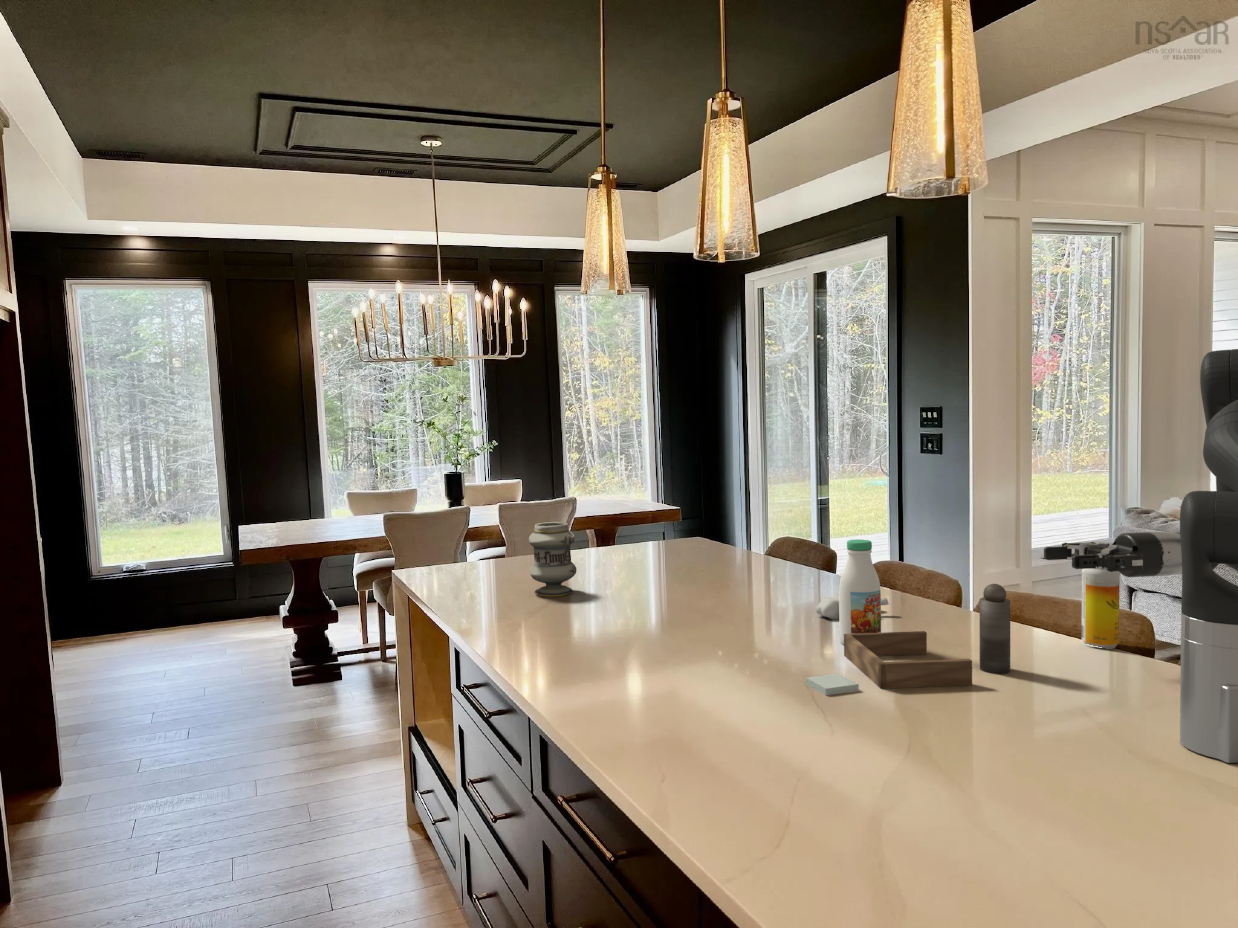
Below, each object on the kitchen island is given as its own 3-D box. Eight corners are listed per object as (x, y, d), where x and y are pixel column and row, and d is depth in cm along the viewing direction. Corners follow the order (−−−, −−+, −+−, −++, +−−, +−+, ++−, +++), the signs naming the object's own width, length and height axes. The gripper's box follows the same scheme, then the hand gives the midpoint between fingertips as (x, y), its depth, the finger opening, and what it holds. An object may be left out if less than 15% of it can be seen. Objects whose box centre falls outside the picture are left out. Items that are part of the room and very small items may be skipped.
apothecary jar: (526, 590, 221) (524, 522, 220) (570, 586, 225) (568, 519, 224) (535, 599, 210) (533, 527, 209) (582, 595, 213) (580, 524, 212)
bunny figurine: (808, 596, 187) (866, 583, 191) (810, 618, 188) (868, 605, 192) (830, 605, 178) (891, 591, 182) (833, 628, 178) (893, 613, 183)
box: (972, 684, 136) (972, 660, 136) (880, 688, 135) (880, 663, 135) (924, 652, 155) (924, 630, 155) (844, 655, 154) (843, 633, 154)
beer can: (1124, 650, 153) (1124, 568, 152) (1087, 649, 154) (1088, 568, 154) (1111, 641, 159) (1112, 562, 158) (1076, 640, 160) (1077, 562, 160)
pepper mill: (1015, 673, 141) (1015, 586, 141) (987, 674, 141) (987, 587, 140) (1001, 664, 146) (1001, 580, 145) (974, 665, 146) (974, 581, 145)
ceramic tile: (858, 693, 135) (858, 684, 134) (825, 698, 133) (825, 688, 133) (837, 682, 140) (837, 673, 140) (806, 687, 138) (806, 677, 138)
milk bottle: (835, 646, 160) (834, 542, 159) (844, 636, 167) (843, 536, 166) (876, 650, 157) (876, 544, 156) (884, 640, 164) (883, 538, 163)
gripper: (1124, 526, 151) (1035, 530, 150) (1180, 538, 137) (1083, 542, 136) (1124, 568, 151) (1035, 571, 151) (1180, 584, 137) (1083, 588, 136)
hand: (1058, 557), depth 143 cm, fingers open, 8 cm apart
